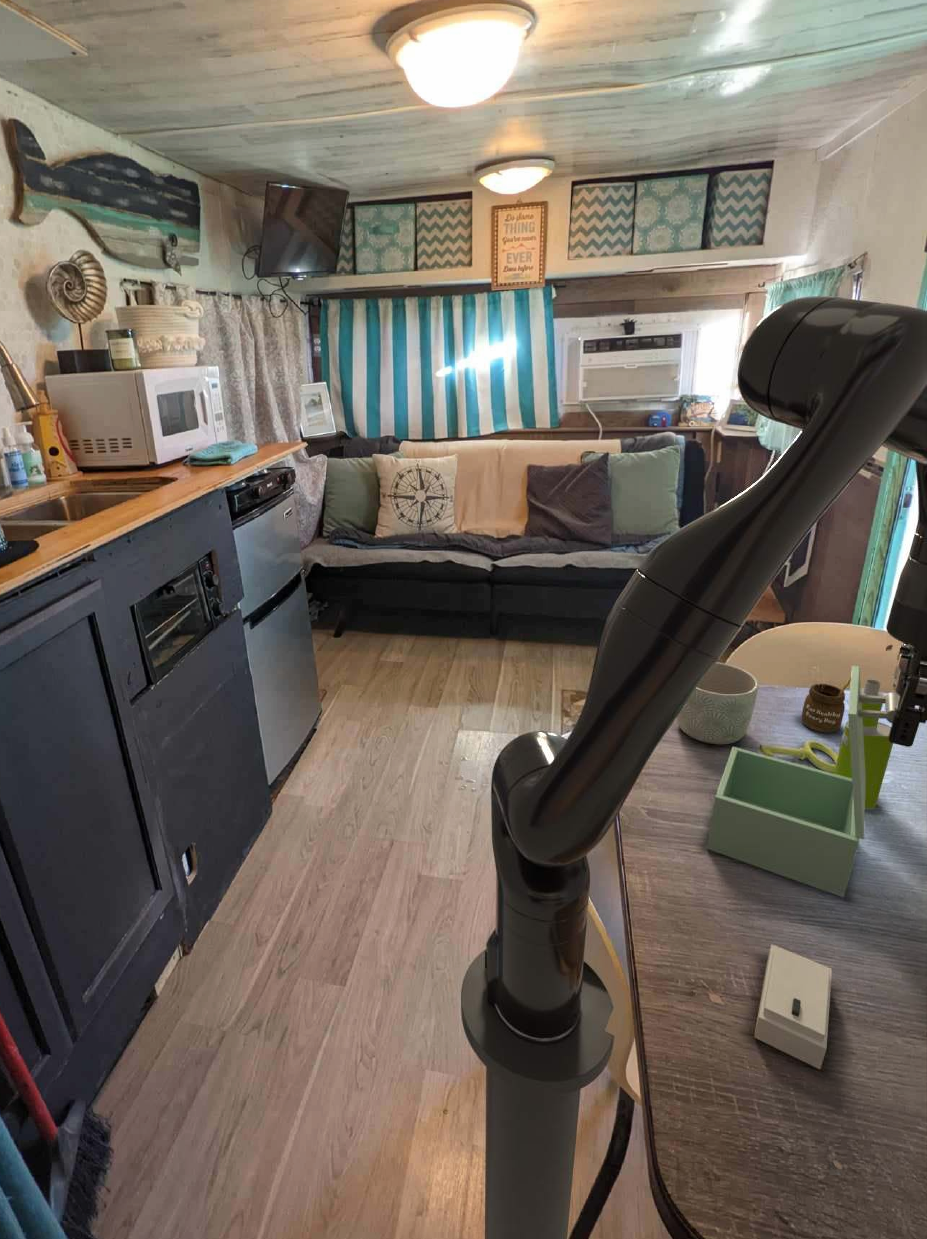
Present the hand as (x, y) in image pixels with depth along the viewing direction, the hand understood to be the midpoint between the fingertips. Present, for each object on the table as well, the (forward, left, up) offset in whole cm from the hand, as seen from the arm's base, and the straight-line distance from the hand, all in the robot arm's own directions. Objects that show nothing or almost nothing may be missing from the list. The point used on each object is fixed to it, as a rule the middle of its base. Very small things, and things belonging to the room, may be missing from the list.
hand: (899, 731), depth 76 cm
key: (-8, +23, -21) cm, 32 cm away
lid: (-4, 0, -4) cm, 5 cm away
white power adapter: (-5, -27, -21) cm, 35 cm away
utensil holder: (-6, +36, -21) cm, 42 cm away
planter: (-22, +24, -21) cm, 39 cm away
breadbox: (-9, 0, -21) cm, 23 cm away
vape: (-1, +15, -21) cm, 26 cm away
